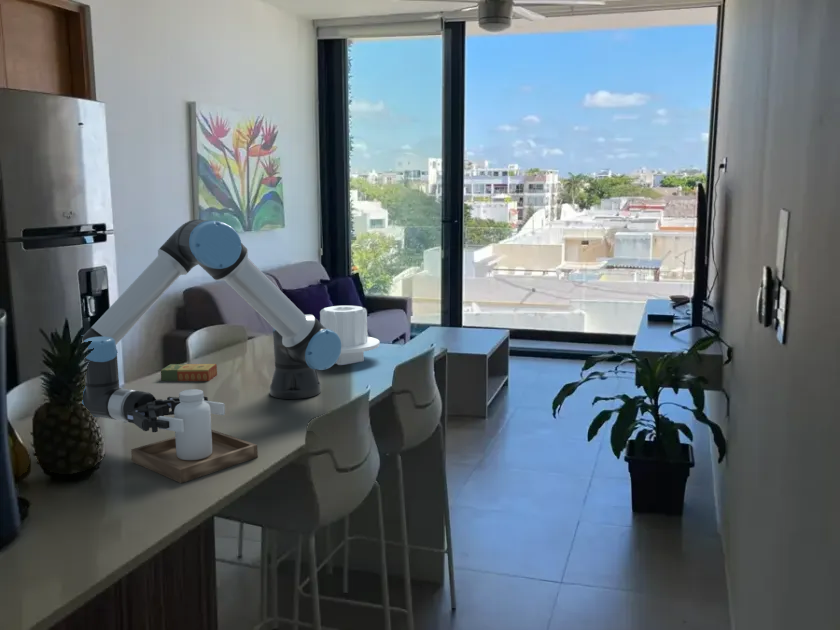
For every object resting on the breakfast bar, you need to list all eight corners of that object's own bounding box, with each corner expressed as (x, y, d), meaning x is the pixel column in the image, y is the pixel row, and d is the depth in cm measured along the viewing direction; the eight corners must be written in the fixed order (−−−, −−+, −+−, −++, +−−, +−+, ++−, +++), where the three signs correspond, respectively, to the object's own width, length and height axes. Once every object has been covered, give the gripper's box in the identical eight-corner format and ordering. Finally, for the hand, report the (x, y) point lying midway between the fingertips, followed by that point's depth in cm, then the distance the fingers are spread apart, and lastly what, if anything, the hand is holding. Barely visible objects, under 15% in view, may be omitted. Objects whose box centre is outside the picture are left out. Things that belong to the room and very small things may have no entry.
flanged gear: (354, 350, 289) (353, 301, 286) (393, 361, 270) (392, 309, 266) (296, 360, 273) (294, 308, 270) (333, 372, 254) (332, 317, 251)
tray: (207, 439, 188) (206, 427, 188) (257, 457, 176) (257, 444, 175) (132, 461, 173) (131, 449, 173) (181, 483, 160) (180, 469, 160)
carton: (209, 382, 245) (208, 369, 244) (160, 382, 246) (159, 369, 245) (217, 375, 253) (216, 363, 253) (170, 375, 254) (169, 363, 254)
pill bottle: (199, 463, 169) (195, 398, 167) (169, 459, 172) (164, 395, 169) (219, 451, 177) (216, 388, 174) (190, 447, 179) (186, 386, 177)
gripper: (172, 407, 192) (240, 417, 183) (92, 437, 170) (164, 450, 161) (170, 378, 191) (238, 387, 182) (89, 404, 169) (162, 416, 160)
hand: (203, 417), depth 171 cm, fingers open, 13 cm apart
